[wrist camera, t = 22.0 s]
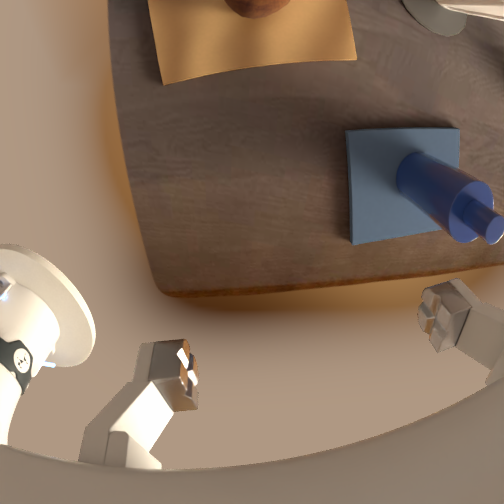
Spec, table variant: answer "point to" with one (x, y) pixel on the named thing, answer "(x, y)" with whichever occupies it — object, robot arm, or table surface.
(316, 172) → the table surface
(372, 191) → the blue mat
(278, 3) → the wooden figurine
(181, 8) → the cork mat
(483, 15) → the cup
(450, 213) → the blue bottle
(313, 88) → the table surface
